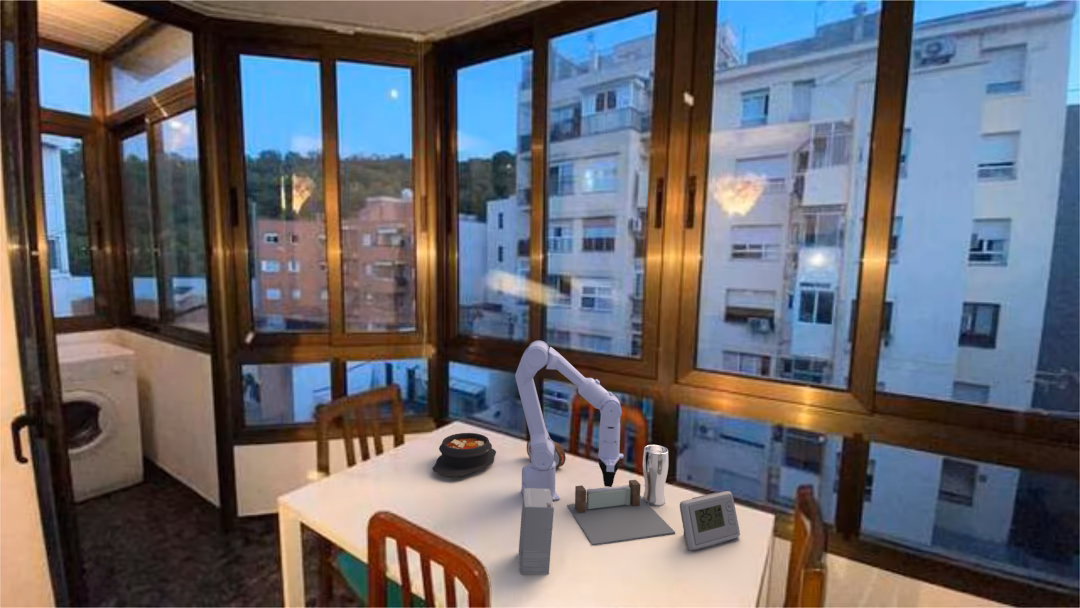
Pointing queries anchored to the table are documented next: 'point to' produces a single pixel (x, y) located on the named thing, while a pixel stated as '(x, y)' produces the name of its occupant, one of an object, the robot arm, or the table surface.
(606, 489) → the gate
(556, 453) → the tin
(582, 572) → the table surface
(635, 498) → the gate posts
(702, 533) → the digital clock
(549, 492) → the skincare box
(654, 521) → the yard mat
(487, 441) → the casserole
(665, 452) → the silver metal tumbler
